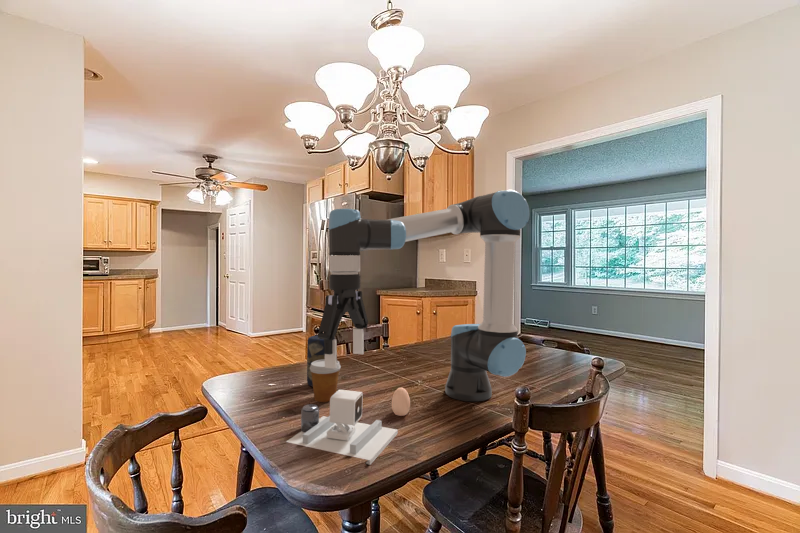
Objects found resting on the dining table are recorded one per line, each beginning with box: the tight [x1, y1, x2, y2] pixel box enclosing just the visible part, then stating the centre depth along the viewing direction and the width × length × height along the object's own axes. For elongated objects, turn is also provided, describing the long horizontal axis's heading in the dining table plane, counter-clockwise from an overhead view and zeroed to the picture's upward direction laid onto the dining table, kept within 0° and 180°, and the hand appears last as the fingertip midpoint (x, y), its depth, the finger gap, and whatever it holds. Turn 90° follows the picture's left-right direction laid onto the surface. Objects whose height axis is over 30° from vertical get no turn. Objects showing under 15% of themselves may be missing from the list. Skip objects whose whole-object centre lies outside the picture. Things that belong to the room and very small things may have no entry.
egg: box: [391, 387, 411, 417], centre depth 106 cm, size 5×5×8 cm
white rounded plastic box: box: [327, 389, 364, 441], centre depth 92 cm, size 6×7×10 cm
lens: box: [300, 403, 320, 433], centre depth 96 cm, size 4×4×6 cm
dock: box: [285, 415, 399, 466], centre depth 93 cm, size 22×16×3 cm
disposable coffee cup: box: [310, 359, 342, 403], centre depth 118 cm, size 10×10×12 cm
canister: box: [306, 334, 336, 388], centre depth 133 cm, size 10×10×18 cm
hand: (345, 360), depth 92 cm, fingers open, 13 cm apart
